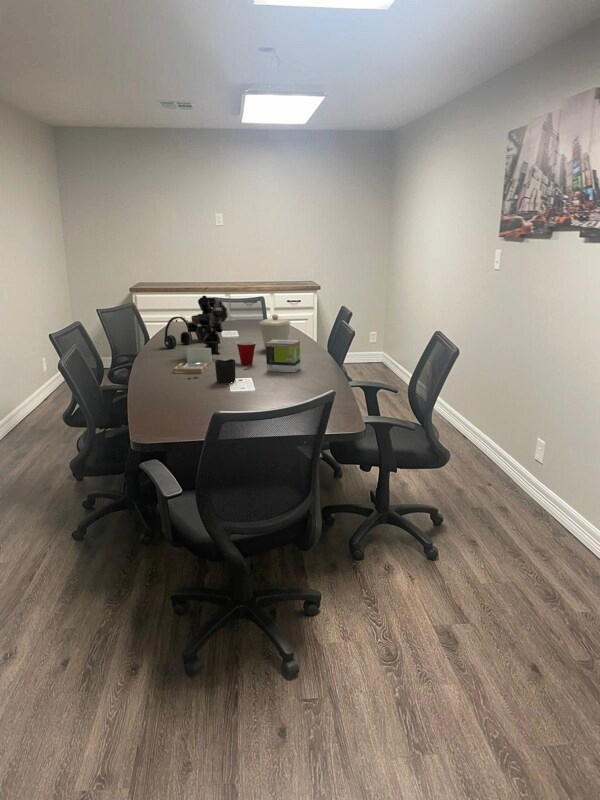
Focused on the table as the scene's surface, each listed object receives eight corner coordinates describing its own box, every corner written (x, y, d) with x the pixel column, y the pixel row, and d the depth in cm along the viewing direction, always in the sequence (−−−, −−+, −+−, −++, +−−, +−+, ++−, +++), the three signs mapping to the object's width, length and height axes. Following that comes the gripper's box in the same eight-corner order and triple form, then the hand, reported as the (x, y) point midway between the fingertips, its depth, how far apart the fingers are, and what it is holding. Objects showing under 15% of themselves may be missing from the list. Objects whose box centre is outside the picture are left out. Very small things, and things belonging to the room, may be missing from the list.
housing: (181, 368, 284) (181, 362, 283) (208, 369, 282) (208, 362, 281) (173, 375, 271) (173, 369, 270) (201, 375, 269) (200, 369, 268)
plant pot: (214, 343, 347) (212, 317, 342) (190, 343, 347) (188, 318, 342) (217, 338, 361) (216, 314, 356) (195, 338, 361) (193, 314, 357)
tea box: (300, 368, 281) (300, 340, 277) (294, 373, 272) (293, 343, 268) (273, 366, 286) (272, 338, 281) (266, 371, 277) (265, 342, 272)
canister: (286, 346, 336) (285, 311, 329) (295, 351, 319) (294, 315, 313) (257, 348, 330) (256, 313, 324) (265, 354, 314) (263, 317, 307)
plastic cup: (260, 362, 294) (260, 340, 290) (250, 367, 285) (250, 344, 281) (243, 361, 298) (242, 339, 295) (233, 365, 289) (231, 343, 285)
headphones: (171, 349, 329) (168, 319, 323) (162, 348, 332) (160, 318, 327) (194, 344, 345) (192, 315, 340) (186, 343, 349) (184, 314, 343)
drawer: (188, 363, 292) (186, 347, 290) (212, 364, 291) (211, 348, 288) (180, 370, 279) (178, 353, 277) (205, 370, 278) (204, 353, 275)
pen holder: (227, 385, 252) (226, 364, 249) (211, 382, 257) (210, 361, 254) (240, 380, 260) (239, 360, 257) (224, 378, 265) (223, 357, 262)
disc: (199, 363, 289) (199, 360, 289) (206, 366, 283) (206, 363, 283) (185, 365, 285) (185, 362, 285) (192, 368, 279) (191, 365, 278)
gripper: (186, 307, 297) (181, 331, 290) (220, 307, 295) (216, 331, 288) (191, 319, 307) (187, 343, 300) (224, 319, 305) (220, 343, 298)
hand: (202, 340), depth 296 cm, fingers closed
